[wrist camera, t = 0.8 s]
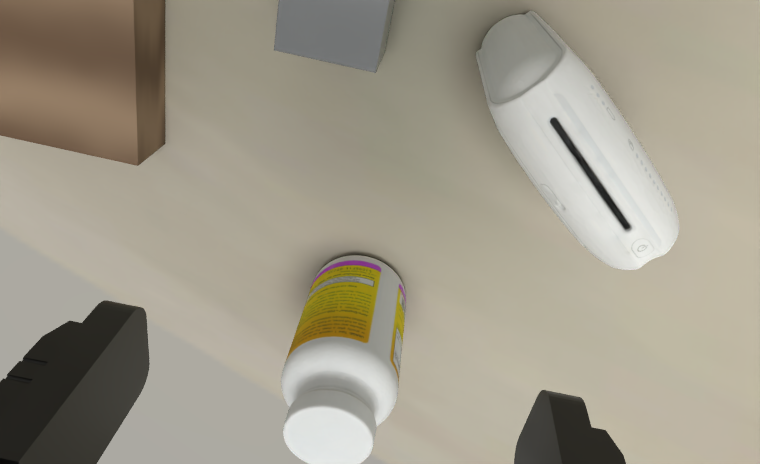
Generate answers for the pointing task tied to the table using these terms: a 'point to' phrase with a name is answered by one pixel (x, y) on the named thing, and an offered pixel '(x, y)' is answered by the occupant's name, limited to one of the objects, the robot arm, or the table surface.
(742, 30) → the table surface
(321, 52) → the charcoal cube
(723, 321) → the table surface
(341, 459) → the supplement bottle
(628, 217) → the photo printer
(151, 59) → the walnut block
